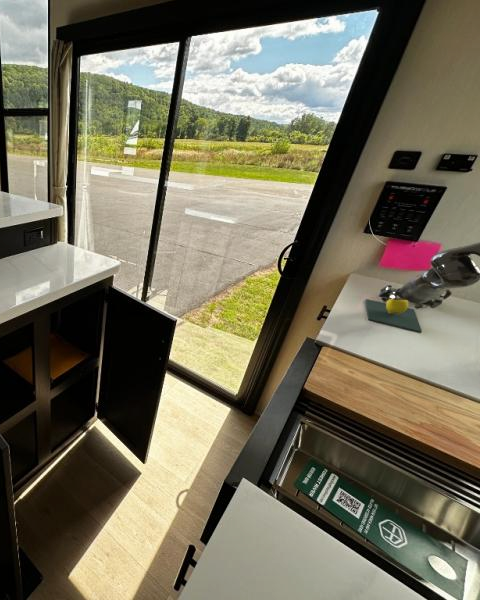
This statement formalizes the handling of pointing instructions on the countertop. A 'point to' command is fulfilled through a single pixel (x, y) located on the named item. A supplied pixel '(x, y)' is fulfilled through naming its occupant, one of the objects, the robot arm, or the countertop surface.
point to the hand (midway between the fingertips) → (400, 302)
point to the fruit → (396, 306)
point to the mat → (392, 316)
